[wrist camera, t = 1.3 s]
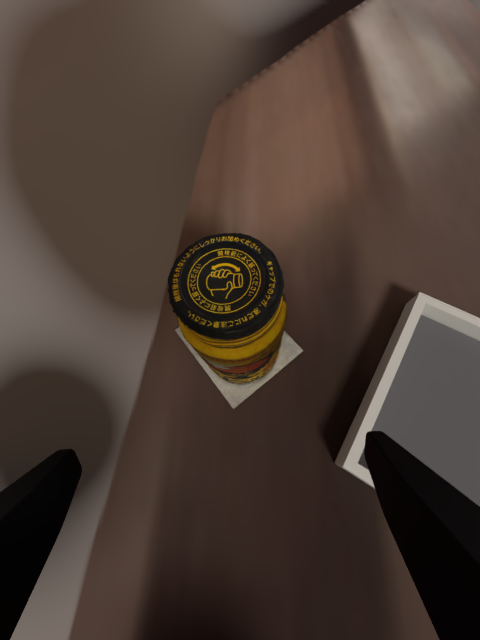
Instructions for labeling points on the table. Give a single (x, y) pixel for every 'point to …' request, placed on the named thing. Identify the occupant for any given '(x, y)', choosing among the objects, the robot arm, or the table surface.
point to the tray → (426, 395)
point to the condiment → (232, 312)
